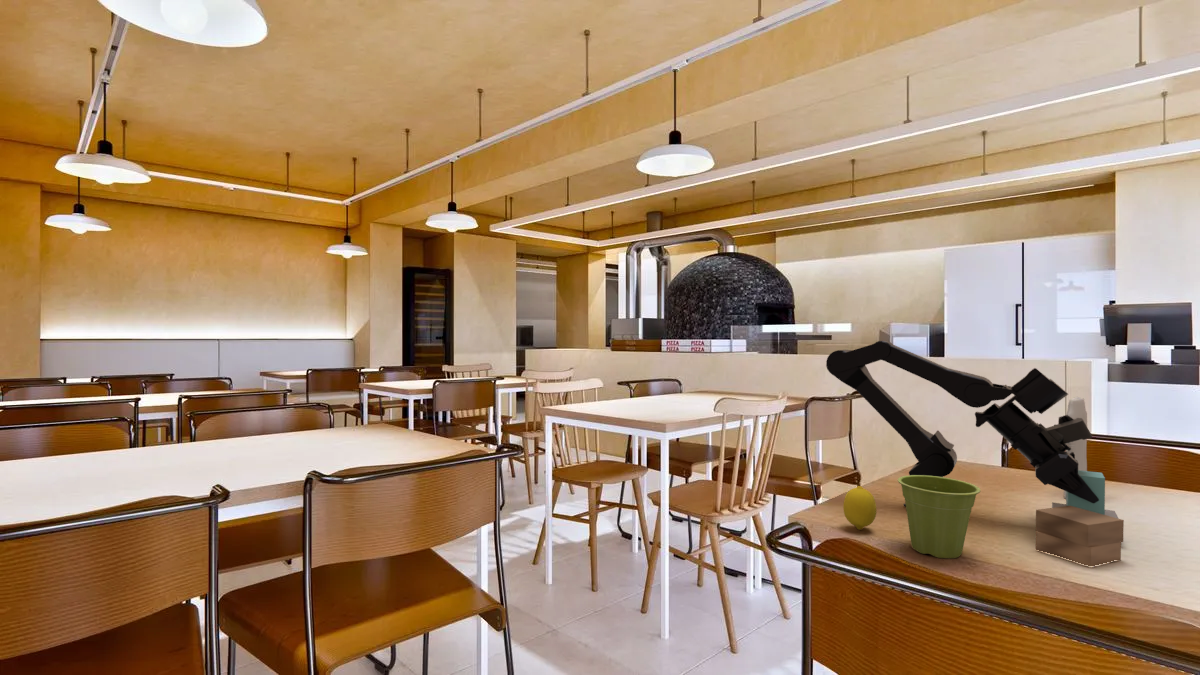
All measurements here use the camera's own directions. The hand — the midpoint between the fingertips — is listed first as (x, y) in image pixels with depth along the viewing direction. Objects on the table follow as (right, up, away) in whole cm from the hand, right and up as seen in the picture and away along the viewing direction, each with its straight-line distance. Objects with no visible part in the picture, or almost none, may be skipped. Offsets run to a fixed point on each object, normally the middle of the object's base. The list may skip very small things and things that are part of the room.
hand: (1095, 498), depth 105 cm
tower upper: (-10, -4, -9) cm, 14 cm away
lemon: (-40, -7, +3) cm, 41 cm away
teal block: (-1, -3, +1) cm, 3 cm away
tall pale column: (+17, -7, +26) cm, 32 cm away
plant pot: (-32, -7, -7) cm, 34 cm away
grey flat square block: (-1, -7, +1) cm, 7 cm away
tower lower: (-10, -7, -9) cm, 15 cm away
